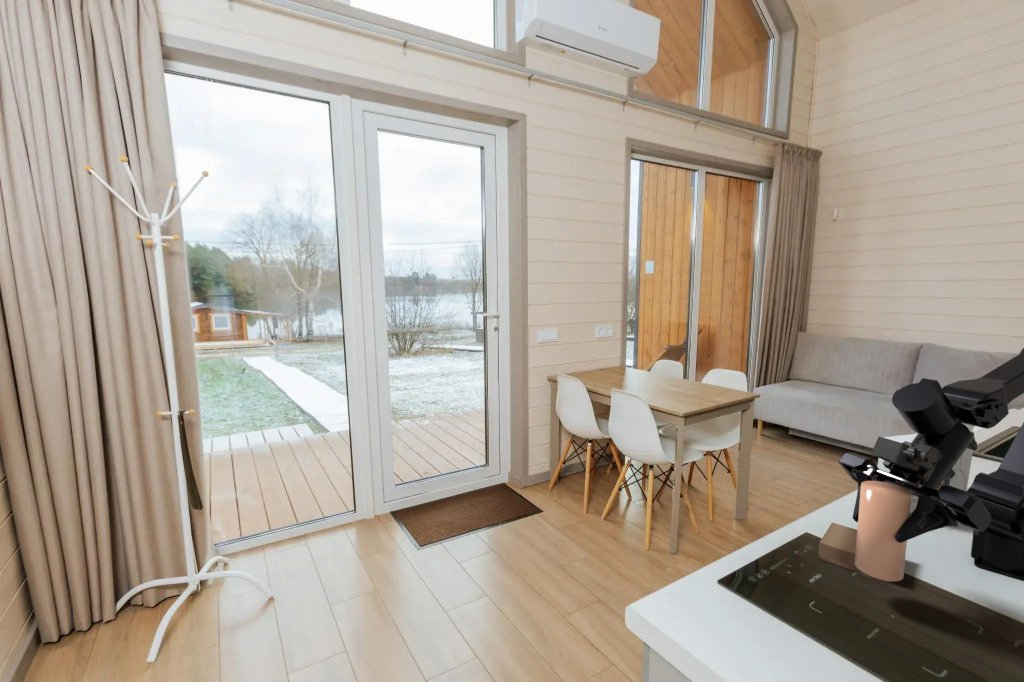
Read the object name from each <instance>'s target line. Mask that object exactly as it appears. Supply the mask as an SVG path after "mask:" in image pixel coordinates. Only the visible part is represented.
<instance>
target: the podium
mask: <svg viewBox="0 0 1024 682" xmlns="http://www.w3.org/2000/svg"><path fill="white" fill-rule="evenodd" d="M856 540H857V528H852V527H849V526H845V525H843V524H839V523H836V522H835V523H834V522H831V524H830V525H829V526H828V528H827V530H826V531H825V533H824V534H823V536H822V538H821V539H820V540H819V544H818V557H817V558H818V560H819V559H820V560H822V561H825V562H828V563H831V564H833V565H837V566H839V567H842V568H846V569H849V570H851V571H853V572H858V573H860V574H863V575H866V576H868V575H867V574H865V573H863V572H862V571H860V570H859V569H858V568H857V567H856V566H855V553H856ZM870 577H872V576H870ZM872 578H873V577H872ZM879 580H880V581H884V582H886V583H890V582H891V581H885V580H881V579H879Z"/></svg>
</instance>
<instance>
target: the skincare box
mask: <svg viewBox="0 0 1024 682" xmlns="http://www.w3.org/2000/svg"><path fill="white" fill-rule="evenodd" d="M917 434H918V433H912V434H911V433H910V434H902V435H892V436H885V437H884V436H883V438H886V439H890V440H893V441H897V442H900V443H903V442H905V441H906V442H910V443H911V442H912V441H913V440H914V438H915V437H916V436H917ZM974 438H975V439H976V436H974ZM973 452H974V450H971V449H966V450H965V451H964V453H963V454H962V455H961V457H960V458H959V460H958V461H957V462H956V464H955V465H954V466H953V468H952V470H953V471H954V472H955V475H954V476H953V478H952V479H951V478H948V477H945V479H944V480H943V481H942V483H941V484H940V485H939V487H938V488H937V489H936V490H939V489H940V487H941V486H945V485H949V486H952V487H955V488H958V489H961V490H964V491H967V490H968V484H969V479H970V473H971V472H970V471H971V465H972V459H973ZM883 462H884V460H883V459H881V458H879V457H878V460H877V464H876V466H877V467H878V468H879V470H882V471H885V472H888V473H889V472H890V470H889V469H888V468H886V467H885V466H884V465H883V464H882V463H883ZM917 501H918V497H917V496H914V495H911V502H910V513H909V515H911V514H912V512H913V511H914V510H915V508H916V506H917Z"/></svg>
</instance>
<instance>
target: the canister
mask: <svg viewBox="0 0 1024 682" xmlns="http://www.w3.org/2000/svg"><path fill="white" fill-rule="evenodd" d="M910 502H911V492H910V491H908V490H907V489H905V488H903V487H900V486H898V485H894V484H891V483H886V482H880V481H864V482H862V483H861V490H860V503H859V515H858V522H857V528H856V530H857V540H856V553H855V566H856V567H857V568H858V569H859V570H860V571H862V572H863V573H865V574H864V575H866V574H867V575H866V576H869V577H871V576H872V578H875V579H877V580H880V579H881V580H880V581H883V580H885V581H884V582H886V581H890V582H900V581H902V580H903V579H905V578H904V576H905V566H906V565H905V564H906V554H907V544H908V540H907V541H904V542H902V543H899V542H897V541H896V539H895V536H896V534H897V533H898V531H899V529H900V528H901V526H902V525H903V524H904V523H905V521H906V520H907V519H908V517H909V516H910V514H911V513H910ZM909 513H910V514H909ZM863 573H862V574H863Z"/></svg>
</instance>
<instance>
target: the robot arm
mask: <svg viewBox="0 0 1024 682" xmlns="http://www.w3.org/2000/svg"><path fill="white" fill-rule="evenodd" d="M1023 394H1024V347H1023V348H1022V349H1021V350H1020V352H1019V354H1018V355H1016V356H1014V357H1012V358H1011V359H1009V360H1008V361H1005V362H1004V363H1002V364H1001V365H999V366H997V367H996V368H994V369H992V370H991V371H989V372H988V373H985V374H984V375H982V376H980V377H977V378H974V379H966V380H965V379H963V380H958V381H955V382H954V381H953V382H952V383H949V384H946V385H944V386H943V387H942V386H941V384H940V383H939V381H938V380H937V379H931V378H921V379H920V380H919V382H917V383H910V384H907V385H905V386H903V387H901V388H899V389H897V390H895V392H894V393H893V395H892V397H891V402H892V405H893V406H894V407H895V409H896V410H897V412H898V413H899V414H900V415H901V417H902V419H903V420H904V421H905V423H906V424H907V426H908V427H909V428H910V429H911V430H912V431H913V432H915V433H916V434H917V436H916V437H915V438H914V440H913V441H912V442H911V443H910V442H906V441H905V442H903V443H900V442H897V441H893V440H890V439H886V438H883V437H884V436H883V437H882V436H878V437H877V439H876V442H875V443H874V444H875V445H874V446H873V449H872V451H871V453H870V455H871V457H874V458H878V459H879V458H881V459H883V460H884V462H883V463H882V464H883V465H884V466H885V467H886V468H888V469H889V470H890V472H889V473H888V472H885V471H882V470H879V468H878V467H877V464H876V463H875V461H874V460H873V459H872V458H870V457H867V456H864V455H861V454H859V453H855V452H852V451H850V452H845V453H844V454H843V455H842V456H841V457H840V459H839V460H838V464H839V465H840V466H841V467H842V468H843V470H844V471H845V472H846V473H847V475H848V476H849V477H850V479H851V480H853V481H854V482H856V483H857V495H856V498H855V503H854V508H853V509H854V510H853V513H852V519H853V520H854V522H855V523H858V515H859V503H860V490H861V483H862V482H864V481H880V482H886V483H891V484H894V485H898V486H900V487H903V488H905V489H907V490H908V491H910V492H911V495H914V496H917V497H918V501H917V506H916V508H915V510H914V511H913V512H912V513H910V514H909V517H908V519H907V520H906V521H905V523H904V524H903V525H902V526H901V528H900V529H899V531H898V533H897V534H896V536H895V539H896V541H897V542H899V543H902V542H904V541H907V542H908V540H911V539H914V538H916V537H919V536H920V535H923V534H927V533H929V532H932V531H936V530H938V529H943V528H946V527H954V528H958V526H959V525H963V526H965V527H967V528H970V529H973V532H972V539H971V548H970V549H971V550H970V557H971V558H972V559H973V565H974V566H976V567H978V568H981V569H986V570H989V571H992V572H995V573H999V574H1002V575H1005V576H1009V577H1013V578H1016V579H1020V580H1022V581H1024V421H1023V422H1022V423H1021V424H1022V425H1021V426H1020V428H1019V430H1018V432H1017V433H1016V435H1015V437H1014V439H1013V440H1012V443H1010V446H1009V448H1008V450H1007V452H1006V454H1005V455H1004V457H1003V459H1002V461H1001V463H1000V465H999V466H998V468H997V469H996V470H994V471H993V472H990V473H984V472H979V473H978V474H976V475H975V477H974V479H973V482H972V483H971V485H970V487H968V488H967V491H964V490H961V489H958V488H955V487H952V486H949V485H945V486H941V487H940V489H939V490H936V489H937V488H938V487H939V485H940V484H941V483H942V481H943V480H944V479H945V477H948V478H951V479H952V478H953V476H954V475H955V472H954V471H953V470H952V468H953V466H954V465H955V464H956V462H957V461H958V460H959V458H960V457H961V455H962V454H963V453H964V451H965V450H966V449H971V450H973V451H976V450H978V442H977V441H976V437H975V432H974V431H973V432H972V431H970V429H969V427H967V425H969V426H973V427H977V428H978V427H979V428H983V429H987V430H988V429H992V428H994V427H995V426H997V425H998V424H999V423H1001V421H1002V420H1003V419H1005V418H1006V417H1007V416H1008V415H1009V414H1010V413H1009V412H1010V411H1009V404H1010V403H1011V402H1012V401H1013V400H1015V399H1017V398H1018V397H1020V396H1021V395H1023ZM974 437H975V438H974Z"/></svg>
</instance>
